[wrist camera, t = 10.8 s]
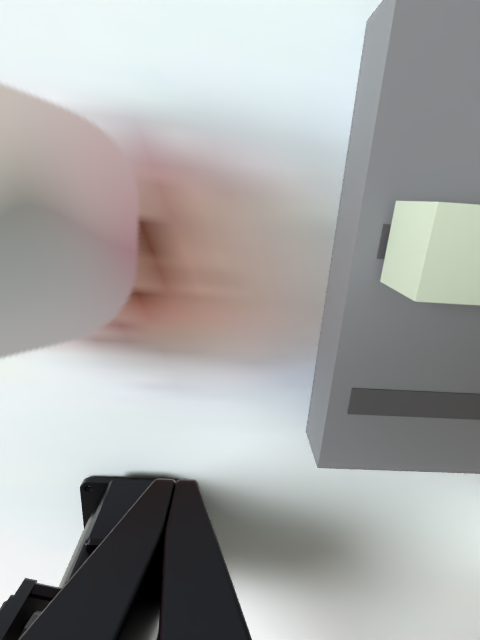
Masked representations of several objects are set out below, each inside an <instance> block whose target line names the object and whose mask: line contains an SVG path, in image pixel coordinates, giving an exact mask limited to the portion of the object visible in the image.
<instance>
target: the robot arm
mask: <svg viewBox="0 0 480 640" xmlns="http://www.w3.org/2000/svg"><path fill="white" fill-rule="evenodd" d="M89 486H91V487H89ZM80 493H81V503H82V512H83V522H84V531H83V533H82V535H81V538H80V540H79V542H78V544H77V547H76V549H75V551H74V553H73V556H72V558H71V560H70V563H69V565H68V567H67V569H66V572H65V574H64V576H63V578H62V581H61V583H60V585H59V587H54V586H49V585H44V584H40V583H37V580H33V579H28V578H25V579H24V581H23V582H22V584H21V586H20V587H19V589H18V590H17V592H16V593H15V595H11V596H10V597H9V599H8V600H7V601H5V602H4V603H3V605H2V607H1V608H0V640H252V638H251V635H250V632H249V630H248V627H247V624H246V621H245V618H244V615H243V612H242V609H241V606H240V603H239V601H238V598H237V595H236V592H235V589H234V586H233V583H232V580H231V577H230V575H229V572H228V569H227V566H226V563H225V560H224V557H223V554H222V551H221V549H220V546H219V543H218V540H217V537H216V534H215V531H214V528H213V525H212V522H211V520H210V517H209V514H208V511H207V508H206V505H205V502H204V499H203V496H202V494H201V491H200V488H199V485H198V483H197V481H196V480H185V479H179V480H174V479H156V480H154V479H125V478H95V477H89V478H86V479H84V481H83V482H82V484H81V486H80Z"/></svg>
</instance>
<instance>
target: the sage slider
mask: <svg viewBox="0 0 480 640" xmlns="http://www.w3.org/2000/svg"><path fill="white" fill-rule="evenodd" d="M380 282H382V283H383V284H385V285H387V286H389V287H390V288H392V289H394V290H396V291H397V292H399V293H401V294H403V295H404V296H406V297H408V298H410V299H411V300H413V301H415V302H430V303H448V304H465V305H480V205H477V204H463V203H448V202H426V201H396V203H395V208H394V213H393V218H392V223H391V228H390V234H389V239H388V244H387V249H386V254H385V259H384V264H383V269H382V274H381V279H380Z"/></svg>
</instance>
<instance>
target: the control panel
mask: <svg viewBox="0 0 480 640" xmlns="http://www.w3.org/2000/svg"><path fill="white" fill-rule="evenodd" d="M396 201H426V202H448V203H463V204H477V205H480V0H383V1H382V2H381V3H380V5H379V6H378V7H377V9H376V10H375V11H374V12H373V14H372V15H371V16H370V18H369V19H368V20H367V24H366V31H365V38H364V44H363V51H362V58H361V65H360V71H359V78H358V85H357V92H356V98H355V105H354V112H353V119H352V125H351V132H350V139H349V145H348V152H347V159H346V166H345V172H344V179H343V186H342V193H341V199H340V206H339V213H338V220H337V226H336V233H335V240H334V247H333V253H332V260H331V267H330V273H329V280H328V287H327V294H326V300H325V307H324V314H323V321H322V327H321V334H320V341H319V348H318V354H317V361H316V368H315V375H314V381H313V388H312V395H311V401H310V408H309V415H308V422H307V428H306V433H307V436H308V439H309V442H310V445H311V449H312V452H313V455H314V458H315V461H316V464H317V467H318V468H335V469H363V470H391V471H419V472H447V473H475V474H480V305H465V304H448V303H430V302H415V301H413V300H411V299H410V298H408V297H406V296H404V295H403V294H401V293H399V292H397V291H396V290H394V289H392V288H390V287H389V286H387V285H385V284H383V283H382V282H380V279H381V274H382V269H383V264H384V259H385V254H386V249H387V244H388V239H389V234H390V228H391V223H392V218H393V213H394V208H395V203H396Z"/></svg>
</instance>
